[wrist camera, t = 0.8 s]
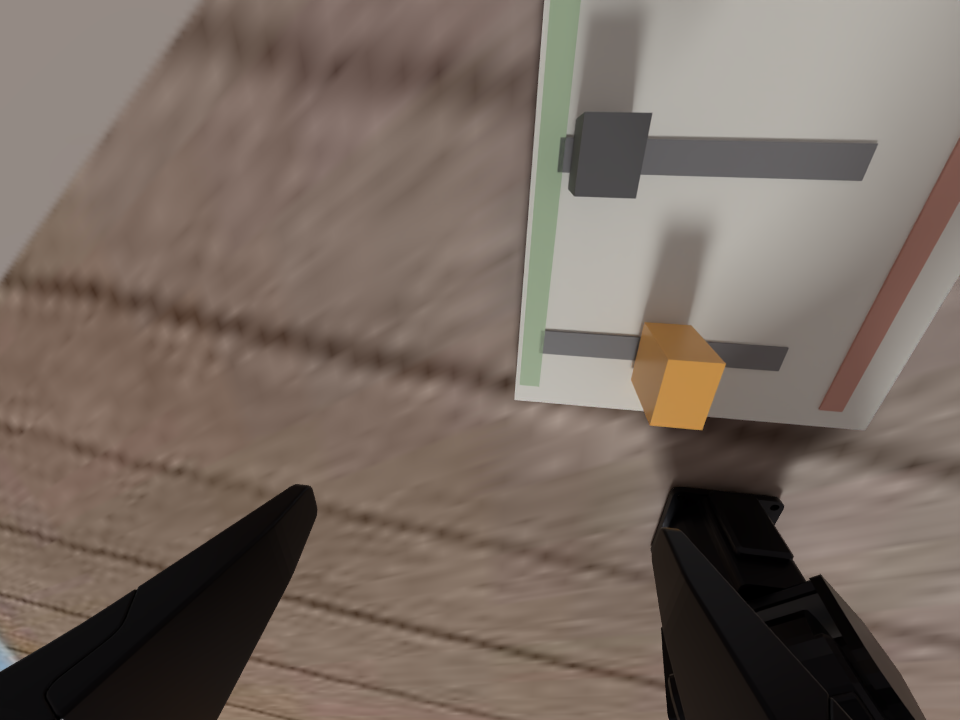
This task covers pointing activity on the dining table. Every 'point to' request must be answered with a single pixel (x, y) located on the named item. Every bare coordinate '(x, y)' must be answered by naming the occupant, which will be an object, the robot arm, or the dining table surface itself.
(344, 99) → the dining table surface
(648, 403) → the block
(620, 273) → the breaker panel
